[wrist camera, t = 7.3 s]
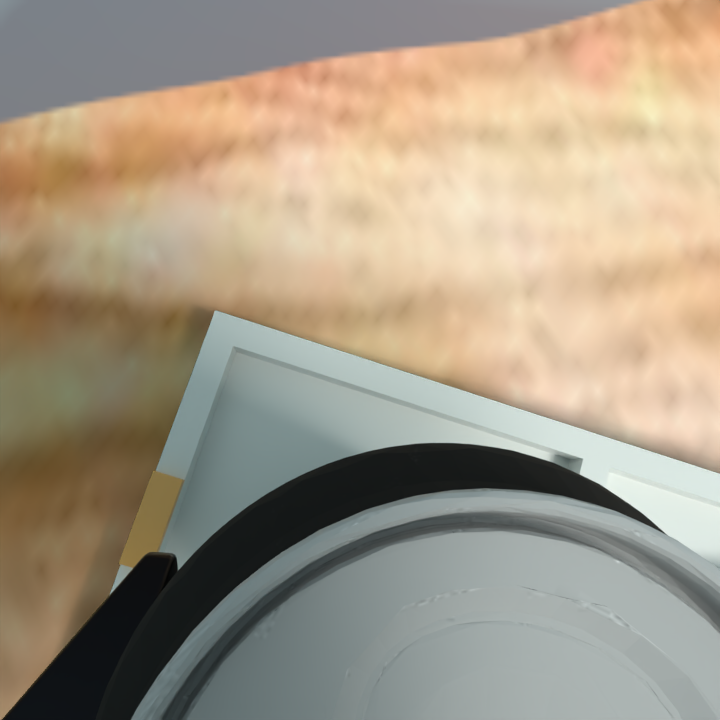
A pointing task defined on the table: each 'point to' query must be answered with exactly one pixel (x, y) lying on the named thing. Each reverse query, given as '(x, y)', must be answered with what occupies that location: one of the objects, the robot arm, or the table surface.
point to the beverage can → (430, 602)
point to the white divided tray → (363, 439)
